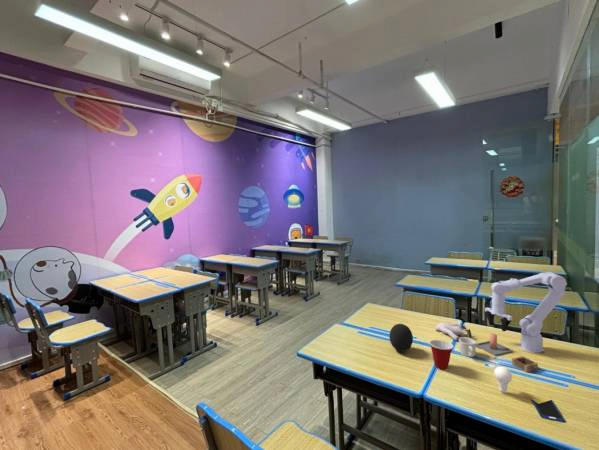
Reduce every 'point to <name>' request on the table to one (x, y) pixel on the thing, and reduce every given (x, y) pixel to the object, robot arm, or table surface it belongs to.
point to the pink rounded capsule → (493, 341)
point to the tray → (486, 347)
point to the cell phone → (548, 411)
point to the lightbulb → (503, 378)
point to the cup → (467, 346)
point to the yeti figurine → (453, 330)
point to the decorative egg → (401, 337)
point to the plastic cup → (441, 353)
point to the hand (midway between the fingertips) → (497, 328)
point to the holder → (524, 364)
